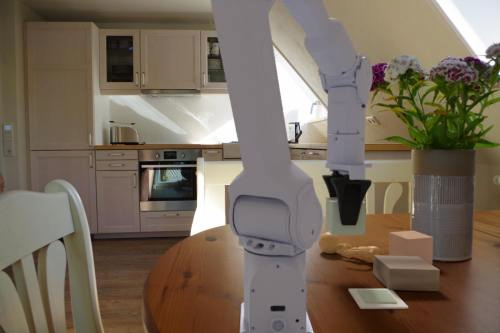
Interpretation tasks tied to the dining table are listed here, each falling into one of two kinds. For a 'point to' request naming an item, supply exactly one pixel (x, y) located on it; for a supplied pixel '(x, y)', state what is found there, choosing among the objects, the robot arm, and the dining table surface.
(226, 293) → the dining table surface
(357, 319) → the dining table surface
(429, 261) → the terracotta block
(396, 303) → the swatch
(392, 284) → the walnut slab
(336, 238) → the figurine
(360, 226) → the sage block
